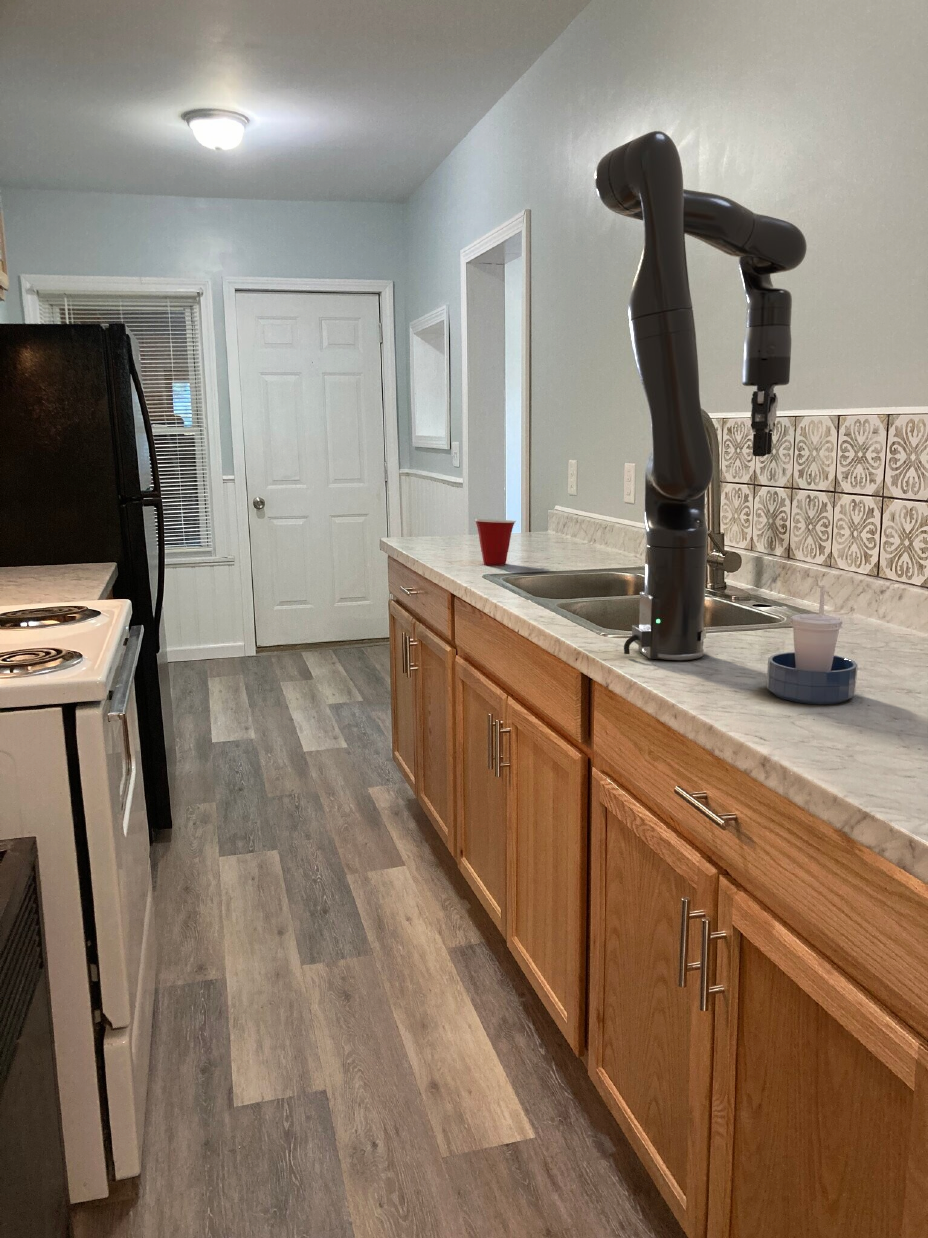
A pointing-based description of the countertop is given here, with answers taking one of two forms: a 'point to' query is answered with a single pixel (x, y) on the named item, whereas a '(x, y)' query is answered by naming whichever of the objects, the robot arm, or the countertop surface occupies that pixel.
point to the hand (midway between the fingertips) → (761, 455)
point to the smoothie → (815, 638)
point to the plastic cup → (494, 540)
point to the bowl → (811, 680)
